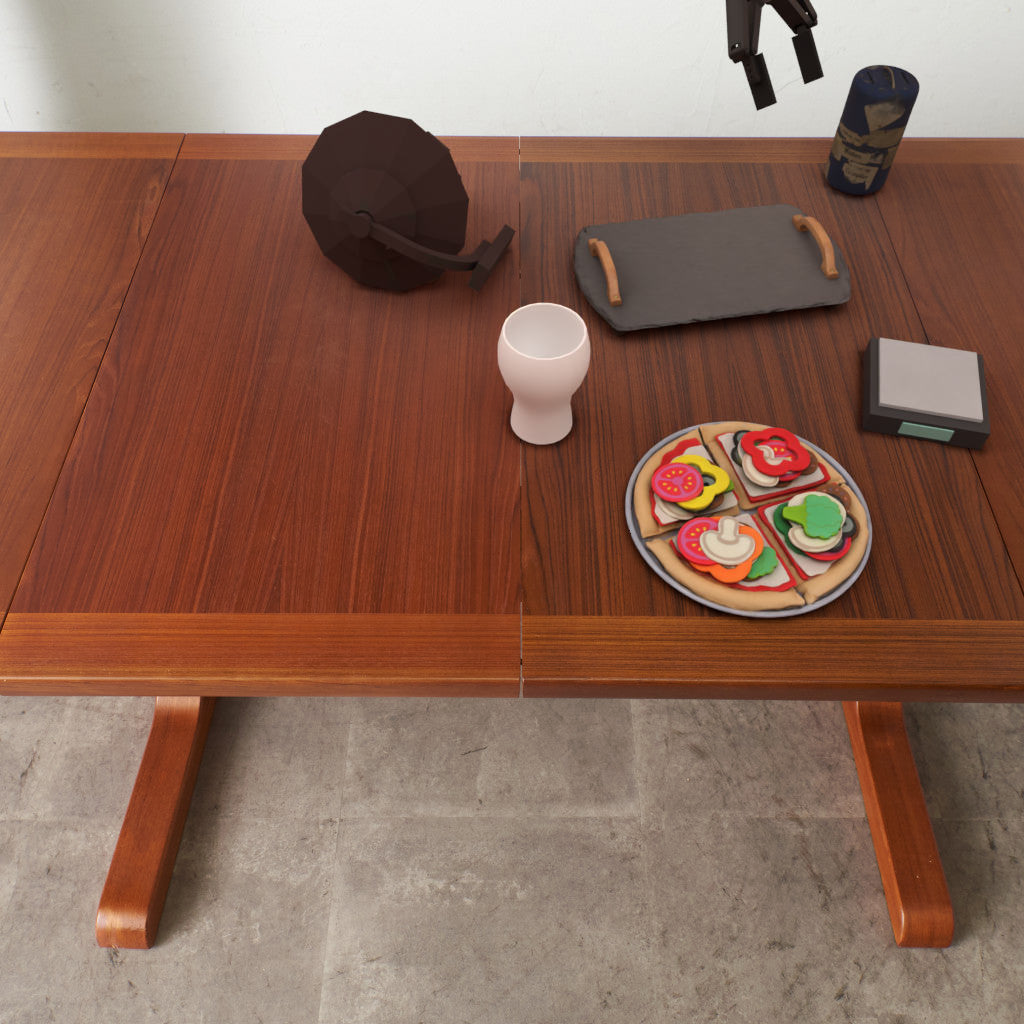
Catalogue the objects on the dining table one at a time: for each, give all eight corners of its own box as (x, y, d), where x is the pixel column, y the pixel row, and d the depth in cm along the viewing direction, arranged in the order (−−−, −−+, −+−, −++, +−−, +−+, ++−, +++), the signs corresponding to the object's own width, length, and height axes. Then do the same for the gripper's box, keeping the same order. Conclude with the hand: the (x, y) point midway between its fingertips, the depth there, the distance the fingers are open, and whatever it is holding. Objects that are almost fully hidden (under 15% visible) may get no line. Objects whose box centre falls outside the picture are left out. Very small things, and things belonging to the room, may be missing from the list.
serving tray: (594, 349, 120) (598, 313, 115) (558, 243, 134) (559, 207, 129) (866, 313, 124) (881, 277, 119) (804, 215, 138) (815, 178, 133)
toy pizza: (788, 404, 114) (797, 380, 110) (918, 577, 98) (933, 555, 95) (587, 462, 108) (589, 437, 105) (691, 655, 93) (698, 634, 89)
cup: (563, 382, 116) (569, 290, 104) (597, 440, 110) (607, 349, 98) (486, 404, 114) (483, 312, 102) (517, 464, 108) (517, 373, 96)
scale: (973, 371, 117) (984, 351, 115) (980, 451, 109) (993, 431, 106) (863, 354, 119) (871, 333, 117) (862, 431, 111) (871, 411, 108)
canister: (820, 195, 141) (855, 82, 127) (822, 162, 147) (856, 50, 132) (883, 204, 140) (926, 91, 125) (883, 170, 145) (924, 58, 131)
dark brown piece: (386, 50, 129) (304, 85, 105) (559, 156, 132) (518, 213, 108) (330, 197, 143) (247, 257, 119) (488, 289, 146) (438, 367, 122)
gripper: (766, -74, 126) (808, 79, 134) (668, -42, 113) (721, 127, 120) (814, -101, 121) (856, 60, 128) (717, -71, 107) (770, 108, 114)
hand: (791, 93), depth 124 cm, fingers open, 13 cm apart
